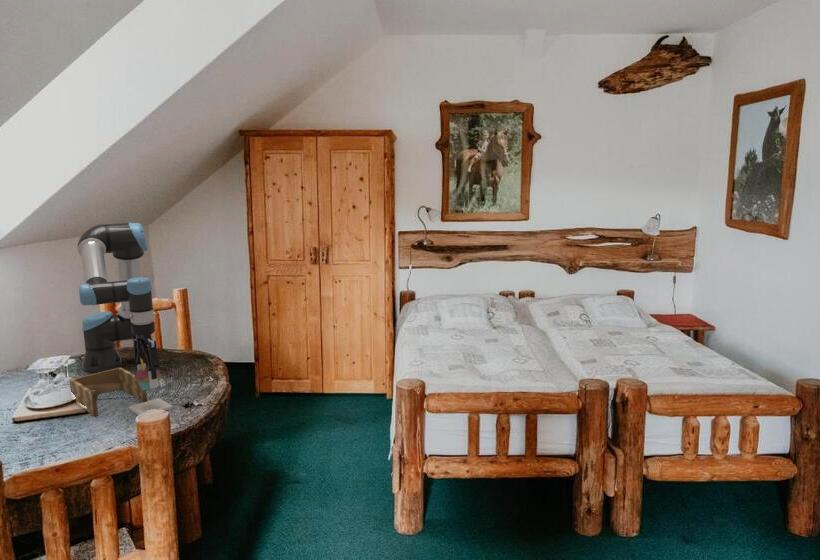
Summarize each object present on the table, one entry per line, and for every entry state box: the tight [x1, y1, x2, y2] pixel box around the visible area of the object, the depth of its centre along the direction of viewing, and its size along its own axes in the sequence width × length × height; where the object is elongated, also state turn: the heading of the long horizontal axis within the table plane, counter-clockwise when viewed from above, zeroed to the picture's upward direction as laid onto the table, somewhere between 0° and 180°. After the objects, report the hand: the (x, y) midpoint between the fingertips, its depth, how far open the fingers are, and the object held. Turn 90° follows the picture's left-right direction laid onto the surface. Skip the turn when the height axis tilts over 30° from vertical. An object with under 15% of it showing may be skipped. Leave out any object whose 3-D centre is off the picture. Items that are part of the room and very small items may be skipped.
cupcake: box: [134, 357, 162, 391], centre depth 214 cm, size 9×8×12 cm
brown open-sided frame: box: [69, 366, 148, 418], centre depth 223 cm, size 22×18×9 cm
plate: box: [128, 397, 174, 416], centre depth 216 cm, size 11×11×1 cm
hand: (148, 384), depth 214 cm, fingers closed on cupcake, 8 cm apart
